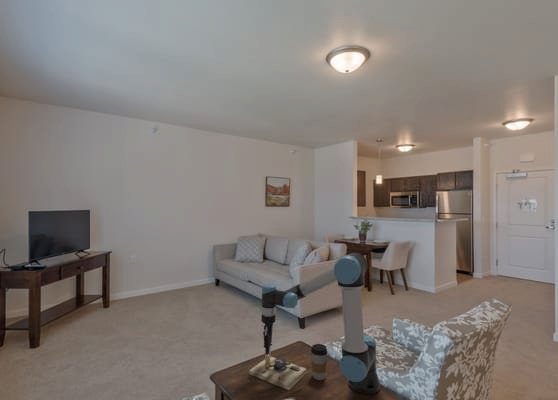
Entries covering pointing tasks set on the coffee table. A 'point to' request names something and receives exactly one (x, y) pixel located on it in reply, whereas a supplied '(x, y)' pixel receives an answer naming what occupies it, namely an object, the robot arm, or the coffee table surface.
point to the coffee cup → (319, 361)
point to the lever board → (279, 374)
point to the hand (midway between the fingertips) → (267, 358)
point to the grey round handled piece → (279, 363)
